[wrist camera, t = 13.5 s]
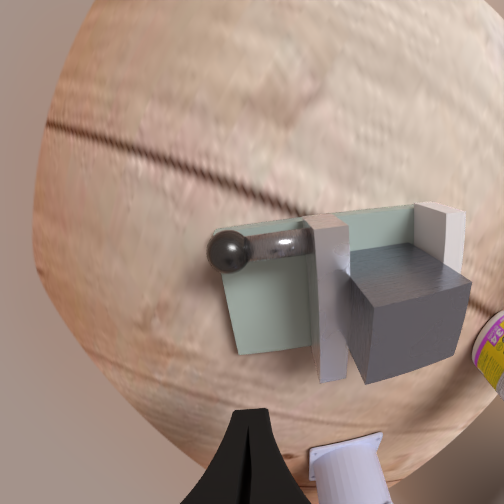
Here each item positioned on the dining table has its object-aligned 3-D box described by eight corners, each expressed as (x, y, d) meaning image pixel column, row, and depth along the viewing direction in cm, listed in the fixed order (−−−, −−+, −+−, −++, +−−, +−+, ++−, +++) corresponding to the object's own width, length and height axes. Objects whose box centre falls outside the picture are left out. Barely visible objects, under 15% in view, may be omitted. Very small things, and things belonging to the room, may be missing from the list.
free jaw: (334, 347, 16) (346, 378, 13) (238, 361, 16) (235, 393, 14) (329, 209, 13) (348, 220, 11) (209, 225, 14) (197, 241, 11)
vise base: (416, 316, 17) (444, 348, 13) (240, 349, 18) (237, 393, 14) (424, 198, 14) (465, 211, 10) (214, 223, 15) (200, 245, 11)
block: (333, 316, 16) (365, 384, 10) (331, 254, 14) (374, 307, 9) (404, 301, 15) (453, 355, 10) (408, 242, 14) (471, 282, 8)
